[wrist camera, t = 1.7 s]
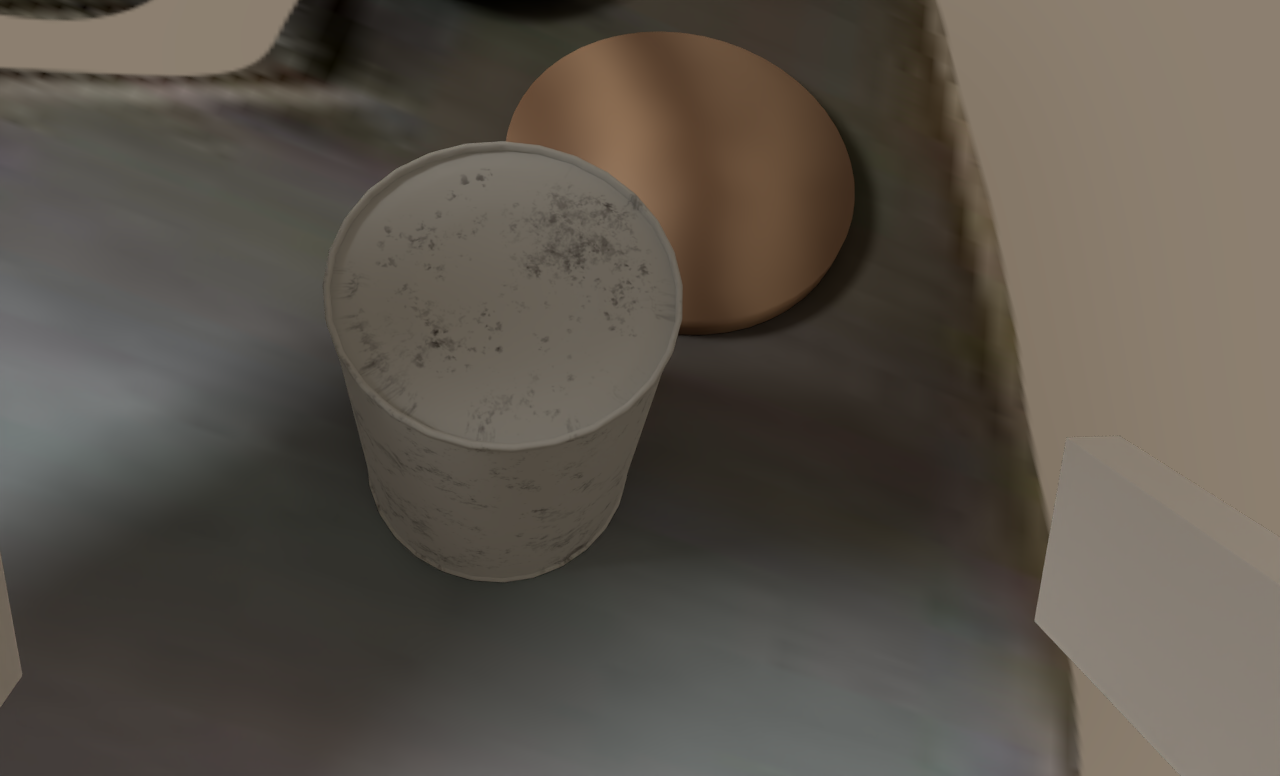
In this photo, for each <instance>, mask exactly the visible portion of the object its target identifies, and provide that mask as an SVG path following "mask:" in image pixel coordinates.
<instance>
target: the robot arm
mask: <svg viewBox="0 0 1280 776" xmlns="http://www.w3.org/2000/svg"><path fill="white" fill-rule="evenodd" d="M1034 621H1035V622H1036V623H1037V624H1038V625H1039V627H1040V628H1041V629H1042V630H1043V631H1044V632H1045V633H1046V634H1047V635H1048V636H1049V637H1050V638H1051V639H1052V640H1053V641H1054V642H1055V643H1056V645H1057V646H1058V647H1059V648H1060V649H1061V650H1062V651H1063V652H1064V653H1065V654H1066V655H1067V656H1068V657H1069V658H1070V659H1071V660H1072V662H1073V663H1074V664H1075V665H1076V666H1077V667H1078V668H1079V669H1080V670H1081V671H1082V672H1083V673H1084V674H1085V675H1086V676H1087V677H1088V678H1089V679H1090V681H1091V682H1092V683H1093V684H1094V685H1095V686H1096V687H1097V688H1098V689H1099V690H1100V691H1101V692H1102V693H1103V694H1104V695H1105V696H1106V697H1107V699H1108V700H1109V701H1110V702H1111V703H1112V704H1113V705H1114V706H1115V707H1116V708H1117V709H1118V710H1119V711H1120V712H1121V713H1122V715H1123V716H1124V717H1125V718H1126V719H1127V720H1128V721H1129V722H1130V723H1131V724H1132V725H1133V726H1134V727H1135V728H1136V729H1137V730H1138V731H1139V732H1140V734H1141V735H1142V736H1143V737H1144V738H1145V739H1146V740H1147V741H1148V742H1149V743H1150V744H1151V745H1152V746H1153V747H1154V748H1155V750H1156V751H1157V752H1158V753H1159V754H1160V755H1161V756H1162V757H1163V758H1164V759H1165V760H1166V761H1167V762H1168V763H1169V764H1170V765H1171V766H1172V768H1173V769H1174V770H1175V771H1176V772H1177V773H1178V774H1179V775H1180V776H1280V537H1279V536H1277V535H1276V534H1274V533H1273V532H1271V531H1270V530H1268V529H1267V528H1265V527H1263V526H1262V525H1260V524H1259V523H1257V522H1255V521H1254V520H1252V519H1251V518H1249V517H1247V516H1246V515H1244V514H1243V513H1241V512H1240V511H1238V510H1237V509H1235V508H1233V507H1232V506H1230V505H1228V504H1227V503H1225V502H1224V501H1222V500H1221V499H1219V498H1217V497H1216V496H1214V495H1213V494H1211V493H1209V492H1208V491H1206V490H1205V489H1203V488H1202V487H1200V486H1199V485H1197V484H1195V483H1194V482H1192V481H1191V480H1189V479H1188V478H1186V477H1184V476H1183V475H1181V474H1180V473H1178V472H1177V471H1175V470H1173V469H1172V468H1170V467H1169V466H1167V465H1165V464H1164V463H1162V462H1161V461H1159V460H1158V459H1156V458H1154V457H1153V456H1151V455H1150V454H1148V453H1146V452H1145V451H1143V450H1142V449H1140V448H1139V447H1137V446H1135V445H1134V444H1132V443H1131V442H1129V441H1128V440H1126V439H1124V438H1123V437H1121V436H1094V437H1066V443H1065V448H1064V454H1063V460H1062V465H1061V472H1060V477H1059V483H1058V489H1057V494H1056V500H1055V505H1054V511H1053V517H1052V523H1051V528H1050V534H1049V540H1048V546H1047V551H1046V557H1045V563H1044V569H1043V574H1042V580H1041V586H1040V592H1039V597H1038V603H1037V609H1036V615H1035V620H1034ZM21 677H22V670H21V664H20V658H19V653H18V647H17V642H16V636H15V631H14V625H13V620H12V614H11V609H10V603H9V597H8V592H7V586H6V581H5V575H4V570H3V564H2V559H1V553H0V707H1V706H2V704H3V703H4V701H5V700H6V699H7V697H8V696H9V694H10V693H11V691H12V690H13V688H14V687H15V686H16V684H17V683H18V681H19V680H20V678H21Z"/></svg>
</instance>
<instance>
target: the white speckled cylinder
mask: <svg viewBox="0 0 1280 776" xmlns="http://www.w3.org/2000/svg"><path fill="white" fill-rule="evenodd" d="M323 296H324V308H325V320H326V324H327V327H328V330H329V333H330V335H331V338H332V341H333V344H334V346H335V349H336V352H337V355H338V357H339V359H340V363H341V367H342V371H343V375H344V379H345V383H346V386H347V390H348V394H349V398H350V402H351V406H352V410H353V413H354V417H355V421H356V425H357V429H358V433H359V437H360V440H361V444H362V448H363V452H364V456H365V460H366V464H367V467H368V476H369V486H370V489H371V492H372V495H373V497H374V500H375V503H376V506H377V509H378V511H379V514H380V515H381V517H382V518H383V520H384V521H385V523H386V524H387V526H388V527H389V529H390V530H391V532H392V533H393V535H394V536H395V538H397V539H398V540H399V541H400V542H401V543H402V544H403V545H404V546H405V547H406V548H407V549H409V550H410V551H411V552H412V553H413V554H414V555H415V556H416V557H417V558H419V559H421V560H423V561H425V562H426V563H428V564H430V565H432V566H434V567H435V568H437V569H439V570H441V571H443V572H445V573H449V574H452V575H456V576H459V577H462V578H466V579H469V580H473V581H489V582H509V581H516V580H522V579H529V578H534V577H537V576H539V575H542V574H544V573H547V572H550V571H552V570H555V569H557V568H560V567H562V566H564V565H565V564H566V563H568V562H569V561H571V560H572V559H574V558H575V557H577V556H578V555H580V554H581V553H583V552H584V551H586V550H587V549H588V548H589V547H590V545H591V544H592V543H593V542H594V541H595V540H596V539H597V538H598V537H599V536H600V535H601V534H602V532H603V531H604V530H605V529H606V527H607V526H608V524H609V522H610V520H611V519H612V517H613V515H614V513H615V511H616V510H617V508H618V506H619V504H620V500H621V497H622V493H623V490H624V486H625V483H626V479H627V473H628V470H629V467H630V464H631V461H632V458H633V455H634V453H635V450H636V447H637V444H638V441H639V438H640V435H641V432H642V429H643V427H644V424H645V421H646V418H647V415H648V412H649V409H650V406H651V403H652V401H653V398H654V395H655V392H656V389H657V386H658V383H659V380H660V377H661V375H662V372H663V369H664V368H665V366H666V364H667V363H668V361H669V359H670V357H671V356H672V354H673V350H674V347H675V343H676V340H677V336H678V332H679V329H680V325H681V322H682V298H683V284H682V280H681V276H680V272H679V268H678V264H677V260H676V256H675V252H674V250H673V248H672V246H671V244H670V242H669V240H668V238H667V237H666V235H665V233H664V231H663V229H662V227H661V225H660V223H659V221H658V220H657V219H656V217H655V216H654V215H653V214H652V213H651V212H650V210H649V209H648V208H647V207H646V206H645V204H644V203H643V202H642V201H641V200H640V199H639V197H638V196H637V195H636V194H635V193H634V192H632V191H631V190H630V189H628V188H627V187H626V186H625V185H623V184H622V183H621V182H619V181H618V180H617V179H616V178H614V177H613V176H612V175H610V174H609V173H608V172H606V171H604V170H602V169H600V168H598V167H596V166H594V165H592V164H590V163H588V162H586V161H584V160H582V159H580V158H579V157H577V156H574V155H571V154H567V153H564V152H561V151H557V150H554V149H550V148H547V147H544V146H540V145H532V144H523V143H514V142H504V141H499V142H485V143H471V144H463V145H459V146H455V147H451V148H447V149H443V150H440V151H436V152H432V153H428V154H426V155H424V156H422V157H420V158H418V159H416V160H414V161H412V162H410V163H408V164H405V165H403V166H401V167H399V168H397V169H395V170H394V171H393V172H391V173H390V174H389V175H388V176H386V177H385V178H384V179H382V180H381V181H380V182H378V183H377V184H376V185H374V186H373V187H372V188H371V189H369V190H368V191H367V192H366V193H365V194H364V196H363V197H362V198H361V199H360V200H359V202H358V203H357V204H356V205H355V207H354V208H353V209H352V210H351V211H350V213H349V214H348V215H347V216H346V217H345V219H344V221H343V223H342V225H341V227H340V229H339V231H338V233H337V235H336V237H335V240H334V242H333V244H332V246H331V248H330V250H329V254H328V259H327V265H326V270H325V275H324V281H323Z"/></svg>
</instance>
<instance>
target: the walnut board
mask: <svg viewBox="0 0 1280 776" xmlns="http://www.w3.org/2000/svg"><path fill="white" fill-rule="evenodd" d="M506 142H514V143H523V144H532V145H540V146H544V147H547V148H550V149H554V150H557V151H561V152H564V153H567V154H571V155H574V156H577V157H579V158H580V159H582V160H584V161H586V162H588V163H590V164H592V165H594V166H596V167H598V168H600V169H602V170H604V171H606V172H608V173H609V174H610V175H612V176H613V177H614V178H616V179H617V180H618V181H619V182H621V183H622V184H623V185H625V186H626V187H627V188H628V189H630V190H631V191H632V192H634V193H635V194H636V195H637V196H638V197H639V199H640V200H641V201H642V202H643V203H644V204H645V206H646V207H647V208H648V209H649V210H650V212H651V213H652V214H653V215H654V216H655V217H656V219H657V220H658V221H659V223H660V225H661V227H662V229H663V231H664V233H665V235H666V237H667V238H668V240H669V242H670V244H671V246H672V248H673V250H674V252H675V256H676V260H677V264H678V268H679V272H680V276H681V280H682V284H683V298H682V322H681V325H680V329H679V332H678V334H679V335H709V334H718V333H727V332H732V331H736V330H740V329H745V328H749V327H752V326H754V325H757V324H760V323H762V322H765V321H768V320H770V319H772V318H774V317H776V316H778V315H780V314H781V313H783V312H785V311H787V310H789V309H790V308H791V307H793V306H794V305H795V304H797V303H798V302H800V301H801V300H802V299H804V298H805V297H806V296H807V295H808V294H809V293H810V292H811V291H812V290H813V289H814V288H815V287H816V286H817V285H818V284H819V282H820V281H821V280H822V278H823V277H824V276H825V274H826V273H827V271H828V270H829V269H830V267H831V265H832V263H833V262H834V260H835V258H836V256H837V254H838V252H839V250H840V248H841V247H842V245H843V243H844V241H845V239H846V237H847V234H848V230H849V227H850V224H851V221H852V216H853V209H854V202H855V189H854V177H853V171H852V166H851V161H850V158H849V155H848V152H847V149H846V146H845V144H844V142H843V140H842V138H841V136H840V134H839V132H838V130H837V128H836V126H835V125H834V123H833V122H832V120H831V119H830V117H829V116H828V114H827V113H826V111H825V110H824V109H823V108H822V106H821V105H820V104H819V103H818V102H817V100H816V99H815V98H814V97H813V96H812V95H811V94H810V93H809V92H808V91H807V90H806V89H805V88H804V87H803V86H802V85H801V84H800V83H798V82H797V81H796V80H795V79H793V78H792V77H791V76H789V75H788V74H787V73H785V72H784V71H783V70H781V69H780V68H778V67H777V66H775V65H773V64H772V63H770V62H768V61H767V60H765V59H763V58H762V57H759V56H757V55H755V54H753V53H751V52H749V51H747V50H745V49H742V48H740V47H737V46H734V45H732V44H729V43H726V42H723V41H719V40H715V39H712V38H708V37H704V36H698V35H692V34H686V33H676V32H640V33H633V34H626V35H619V36H615V37H611V38H608V39H604V40H600V41H597V42H594V43H592V44H589V45H587V46H584V47H582V48H579V49H578V50H576V51H574V52H572V53H570V54H568V55H567V56H565V57H563V58H562V59H560V60H559V61H557V62H556V63H555V64H553V65H552V66H551V67H549V68H548V69H547V70H546V71H545V72H544V73H543V74H542V75H541V76H540V77H539V78H537V79H536V80H535V81H534V83H533V84H532V85H531V86H530V88H529V89H528V90H527V92H526V93H525V94H524V96H523V97H522V99H521V101H520V103H519V105H518V106H517V108H516V110H515V112H514V114H513V117H512V120H511V123H510V126H509V129H508V133H507V139H506Z"/></svg>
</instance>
